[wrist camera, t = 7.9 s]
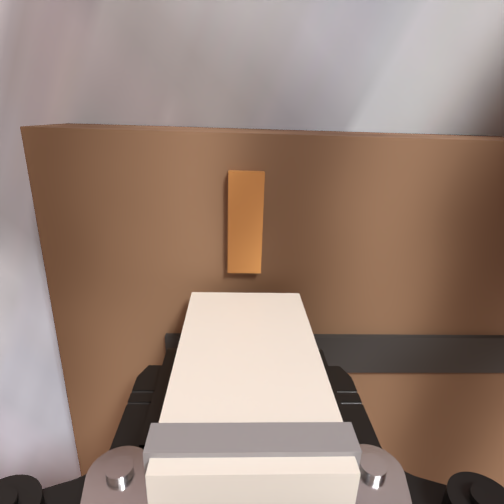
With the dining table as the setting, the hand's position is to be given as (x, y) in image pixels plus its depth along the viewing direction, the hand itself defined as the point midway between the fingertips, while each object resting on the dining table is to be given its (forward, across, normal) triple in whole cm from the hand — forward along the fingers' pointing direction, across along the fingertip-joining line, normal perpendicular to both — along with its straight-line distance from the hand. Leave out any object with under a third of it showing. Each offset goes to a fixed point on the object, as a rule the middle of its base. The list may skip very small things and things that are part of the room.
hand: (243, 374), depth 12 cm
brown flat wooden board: (+4, -8, 0) cm, 9 cm away
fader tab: (+1, 0, 0) cm, 1 cm away
